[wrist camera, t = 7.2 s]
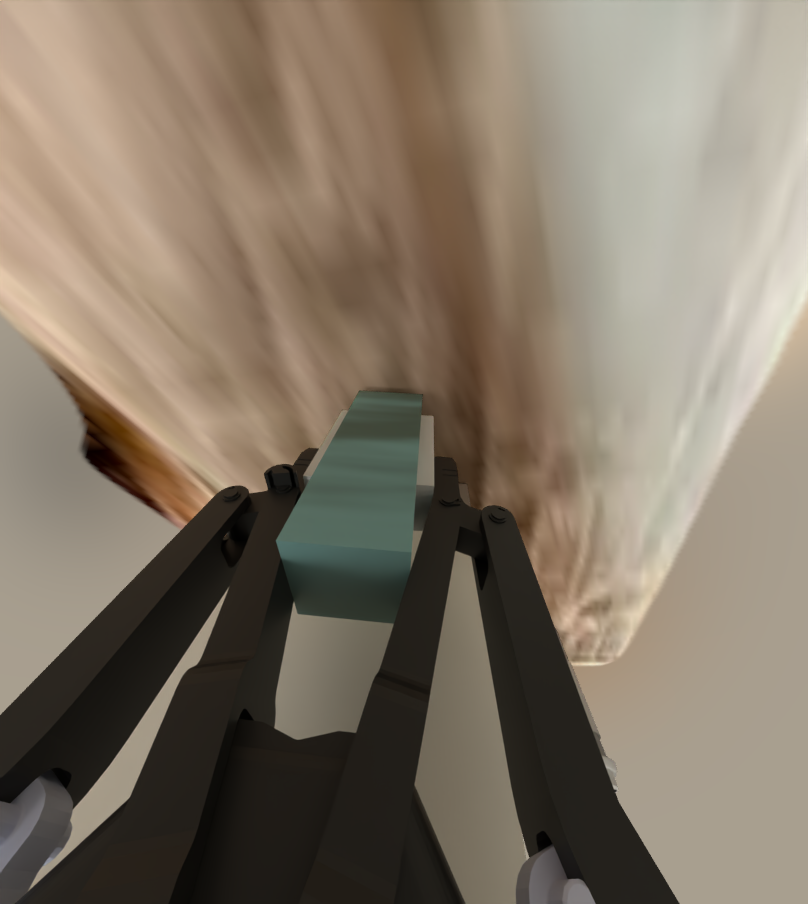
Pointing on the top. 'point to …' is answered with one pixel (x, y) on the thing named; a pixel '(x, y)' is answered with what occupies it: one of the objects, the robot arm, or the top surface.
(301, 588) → the teal mallet
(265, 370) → the top surface
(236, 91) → the top surface
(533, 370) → the top surface
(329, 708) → the cupboard
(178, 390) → the top surface
